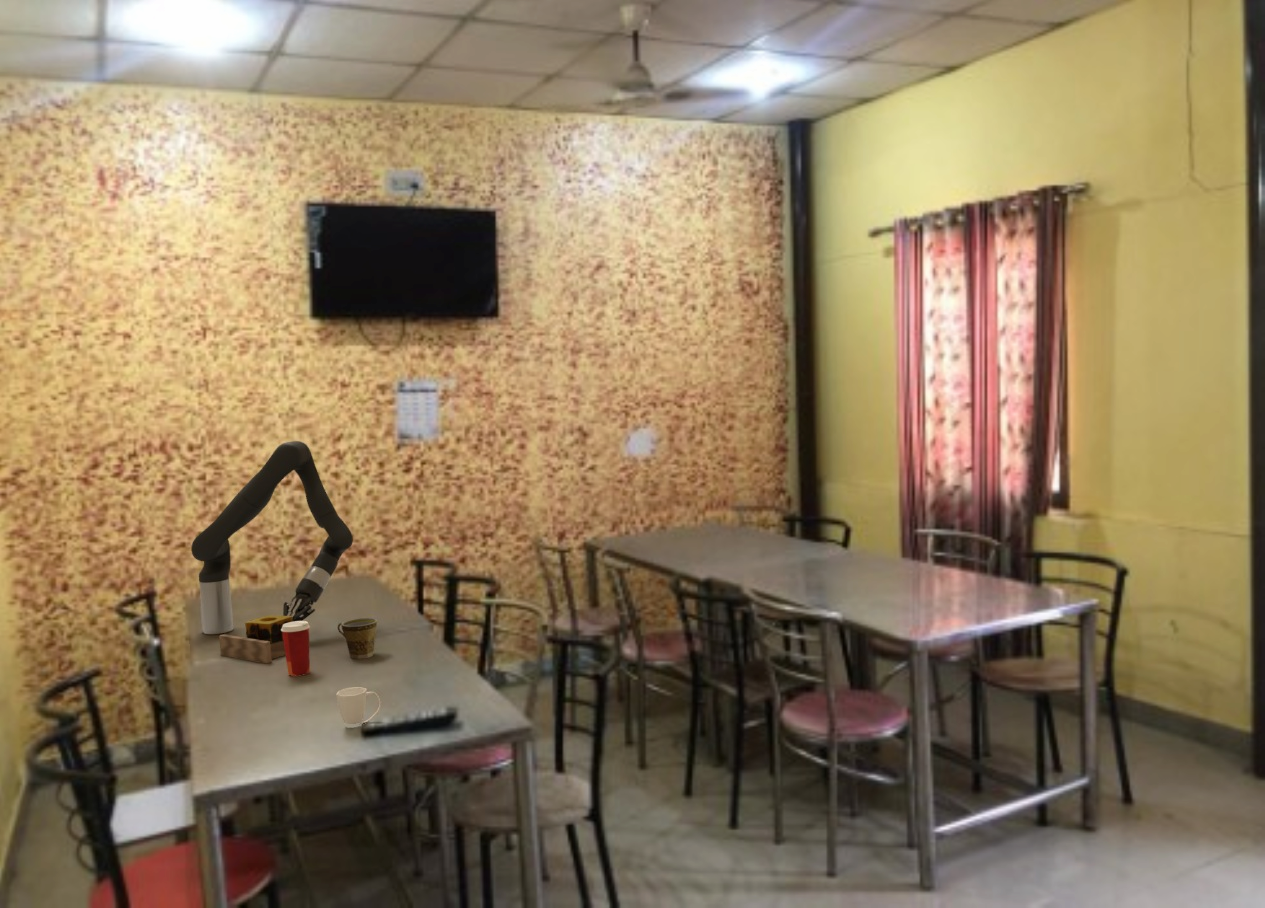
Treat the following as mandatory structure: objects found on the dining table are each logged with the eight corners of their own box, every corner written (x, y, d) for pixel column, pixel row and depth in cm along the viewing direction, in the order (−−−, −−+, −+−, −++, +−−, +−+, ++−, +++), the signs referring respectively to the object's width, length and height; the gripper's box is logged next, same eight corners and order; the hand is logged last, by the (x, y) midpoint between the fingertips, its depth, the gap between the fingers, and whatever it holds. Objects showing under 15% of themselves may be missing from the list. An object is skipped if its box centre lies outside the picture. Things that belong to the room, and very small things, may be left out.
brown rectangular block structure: (220, 655, 311) (219, 635, 311) (245, 648, 318) (243, 629, 318) (267, 663, 299) (265, 642, 299) (291, 655, 306) (289, 635, 306)
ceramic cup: (386, 652, 304) (383, 618, 303) (364, 661, 295) (361, 627, 294) (351, 649, 310) (348, 616, 309) (328, 658, 301) (325, 624, 300)
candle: (272, 657, 306) (269, 624, 305) (246, 655, 310) (243, 622, 309) (296, 648, 315) (293, 615, 314) (270, 646, 319) (268, 614, 318)
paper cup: (319, 670, 289) (315, 620, 288) (302, 678, 282) (298, 627, 281) (295, 668, 291) (291, 619, 290) (278, 676, 284) (274, 626, 283)
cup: (335, 724, 241) (332, 690, 241) (378, 715, 246) (375, 682, 245) (342, 732, 235) (339, 697, 234) (385, 723, 240) (383, 689, 239)
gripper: (292, 576, 328) (262, 623, 318) (319, 578, 320) (290, 627, 311) (307, 589, 332) (278, 635, 323) (334, 592, 325) (306, 640, 316)
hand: (284, 631), depth 317 cm, fingers closed
